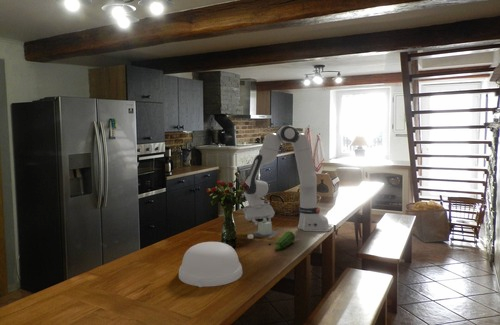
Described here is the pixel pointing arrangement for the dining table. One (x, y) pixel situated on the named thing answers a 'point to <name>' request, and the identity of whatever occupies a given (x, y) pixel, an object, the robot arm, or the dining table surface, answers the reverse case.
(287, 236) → the vegetable
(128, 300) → the dining table surface
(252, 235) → the glossy white pebble
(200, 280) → the dome cover
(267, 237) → the mat
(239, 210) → the dining table surface
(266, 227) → the square capped bottle
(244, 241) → the dining table surface
